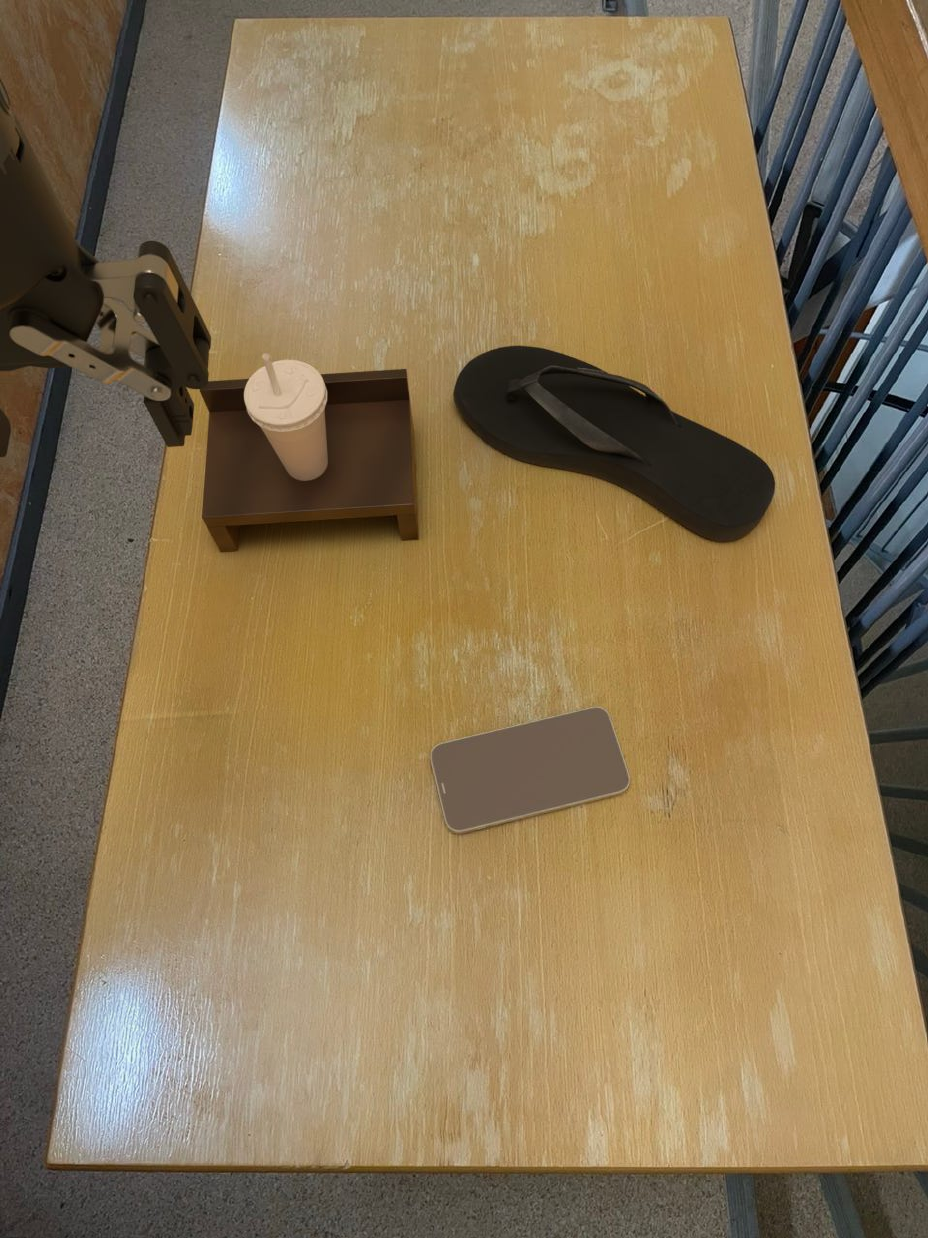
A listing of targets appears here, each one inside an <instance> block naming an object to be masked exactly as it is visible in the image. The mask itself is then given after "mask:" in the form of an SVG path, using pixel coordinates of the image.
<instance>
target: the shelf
mask: <svg viewBox="0 0 928 1238" xmlns="http://www.w3.org/2000/svg"><path fill="white" fill-rule="evenodd" d="M407 369H408V368H396V369H381V370H379V369H378V370H366V371H363V370H362V371H348V372H335V373H333V372H332V373H320V375H321V376H322V378H323V381H324V383H325V386H326V389H327V402H326V405H325V425H326V440H327V455H328V465H327V468H326V470H325V471H324V473H323V474H322V475H320V476H319V477H317V478H315V479H313V480H308V481H301V480H297V479H295V478H293V477H292V476H290V475H289V473H288V472H287V470H286V469H285V467H284V465H283V464H282V462H281V460H280V459H279V457H278V455H277V454H276V452H275V450H274V449H273V447H272V445H271V444H270V442H269V440H268V438H267V437H266V435H265V433H264V432H263V430H262V429H261V427H260V426H259V425H258V424H257V423H255V422H254V421H253V420H252V418H251V417H250V415H249V414H248V412H247V408H246V404H245V401H244V390H245V386H246V384H247V382H248V380H249V379H250V378H240V379H222V380H221V379H220V380H208V384H207V386H206V387H204V388H202V389H199V392H200V395H201V397H202V400H203V402H204V404H205V406H206V409H207V411H208V422H207V423H208V425H207V438H206V452H205V464H204V465H205V467H204V481H203V494H202V495H203V496H202V509H201V510H202V511H201V519H202V521H203V523H204V525H205V526H206V529H207V530H208V532H209V534H210V536H211V537H212V540H213V541H214V543H215V545H216V547H217V549H218V551H219V552H220V553H226V552H228V553H230V552H238V551H239V535H240V534H239V533H240V532H239V531H240V526H247V525H262V524H263V525H264V524H275V523H277V524H278V523H279V524H280V523H293V522H309V521H322V520H323V521H324V520H325V521H326V520H339V519H341V520H342V519H356V518H357V519H358V518H369V517H370V518H372V517H387V516H396V518H397V523H398V530H399V536H400V540H401V541H413V540H414V541H415V540H419V539H420V536H419V535H420V534H419V514H418V491H417V490H418V489H417V469H416V446H415V429H414V419H413V413H412V403H411V395H410V388H409V378H408V371H407Z"/></svg>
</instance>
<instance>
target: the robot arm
mask: <svg viewBox="0 0 928 1238" xmlns="http://www.w3.org/2000/svg"><path fill="white" fill-rule="evenodd" d="M118 301H119V302H118ZM121 303H122V304H121ZM144 323H146V324H147V326H148V327H149V329H150V330H149V329H147V328H145V327H144V326H142V325H141V324H144ZM95 324H96V325H97V326H98V328H99V331H100V338H99V345H98V347H96V346H94V345H92V344H90V343H89V342H88V341H89V339H90V336H91V333H92V331H93V329H94V328H95ZM211 347H212V336H211V333H210V331H209V329H208V328H207V325H206V323H205V321H204V319H203V317H202V315H201V313H200V311H199V308H198V306H197V304H196V302H195V299H194V298H193V296H192V294H191V291H190V289H189V287H188V286H187V283H186V281H185V279H184V277H183V275H182V273H181V271H180V269H179V267H178V265H177V263H176V260H175V258H174V256H173V254H172V252H171V250H170V248H169V247H167V246H166V245H165V244H164V243H162V242H160V241H157V240H146V241H143V242H142V243H140V245H139V248H138V253H137V258H132V259H123V260H122V259H121V260H114V261H104V262H100V261H99V260H98V259H97V258H96V257H95V256H93V254H91V252H89V251H88V250H86V249H85V248H84V247H83V246H82V245H81V244H80V243H79V242H78V241H77V240H76V238H75V236H74V233H73V231H72V229H71V226H70V223H69V221H68V218H67V216H66V213H65V211H64V208H63V206H62V204H61V202H60V200H59V198H58V196H57V194H56V192H55V190H54V188H53V186H52V184H51V182H50V180H49V178H48V176H47V174H46V172H45V170H44V168H43V166H42V164H41V163H40V161H39V159H38V157H37V155H36V152H35V151H34V149H33V147H32V145H31V143H30V141H29V139H28V137H27V135H26V133H25V131H24V128H23V127H22V125H21V123H20V121H19V119H18V116H17V115H16V114H15V111H14V110H13V107H12V104H11V100H10V97H9V94H8V91H7V89H6V87H5V85H4V82H3V81H2V79H1V78H0V372H12V371H16V370H19V369H23V368H27V367H32V368H33V367H35V368H42V369H43V368H44V369H59V368H60V369H62V368H69V367H70V368H72V369H74V370H76V371H77V372H80V373H81V374H83V375H85V376H88V377H89V378H91V379H93V380H95V381H97V382H99V383H100V384H103V385H110V384H111V383H112V382H117V383H119V384H121V385H123V386H125V387H127V388H128V389H131V390H132V391H134V392H136V393H138V394H139V395H142V396H143V404H144V406H145V408H146V410H147V412H148V414H149V416H150V417H151V419H152V421H153V423H154V425H155V426H156V429H157V431H158V432H159V433H160V436H161V438H162V439H163V441H164V444H165V445H166V447H167V448H174V447H176V448H177V447H184V446H185V442H186V436H192V433H193V428H194V427H193V425H194V412H195V403H194V401H193V399H192V397H191V394H190V392H189V390H188V389H191V390H200V389H202V388H204V387H206V386H207V384H208V381H209V377H210V376H209V375H210V372H209V359H210V350H211ZM131 352H132V353H133V354H135V355H137V356H139V357H141V358H142V359H144V361H143V364H142V363H141V362H139V361H137V360H136V359H134V358H133V357H132V356H131ZM11 431H12V426H11V421H10V419H9V418H8V416H7V415H6V413H5V412H4V411H3V410H2V408H1V407H0V458H6V456H7V455H8V451H9V444H10V439H11V433H12V432H11Z"/></svg>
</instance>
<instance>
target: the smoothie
mask: <svg viewBox="0 0 928 1238" xmlns="http://www.w3.org/2000/svg"><path fill="white" fill-rule="evenodd" d="M261 358H262V361H263V364H264V365H263V366H262V367H260V368H258V369H257V370H256V371H255V372H253V374H252V375H251V376H250V377H249V378H248V379H249V380H248V382H247V384H246V386H245V390H244V401H245V404H246V408H247V412H248V414H249V415H250V417H251V418H252V420H253V421H254V422H255V423H257V424H258V425H259V426H260V427H261V429H262V430H263V432H264V433H265V435H266V437H267V438H268V440H269V442H270V444H271V445H272V447H273V449H274V450H275V452H276V454H277V455H278V457H279V459H280V460H281V462H282V464H283V465H284V467H285V469H286V470H287V472H288V473H289V475H290V476H292V477H293V478H295V479H297V480H301V481H308V480H313V479H315V478H317V477H319V476H320V475H322V474H323V473H324V471H325V470H326V468H327V465H328V455H327V440H326V425H325V405H326V402H327V389H326V386H325V383H324V381H323V378H322V376H321V375H320V374H321V373H320V371H318V369H316V368H315V367H313V366H312V365H310V364H308V363H306V362H304V361H301V360H297V359H281V360H280V359H279V360H275V361H272V358H271V355H270V354H269V353H263V354H262V355H261Z"/></svg>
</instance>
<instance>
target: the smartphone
mask: <svg viewBox="0 0 928 1238" xmlns="http://www.w3.org/2000/svg"><path fill="white" fill-rule="evenodd" d="M429 757H430V760H429V761H430V764H431V768H432V769H431V770H432V774H433V778H434V782H435V786H436V790H437V794H438V798H439V803H440V807H441V811H442V815H443V820H444V823H445V826H446V828H447V829H448V830H449V831H450V832H451V833H453V834H457V835H458V834H459V835H461V834H466V833H471V832H474V831H478V830H483V829H486V828H490V827H495V826H499V825H503V824H507V823H511V822H515V821H518V820H522V819H523V820H524V819H527V818H531V817H535V816H539V815H543V814H548V813H550V812H555V811H559V810H563V809H566V808H571V807H574V806H575V807H576V806H579V805H583V804H587V803H591V802H595V801H598V800H605V799H607V798H611V797H617V796H619V795H621V794H624V793H625V792H626V791H627V789H628V788H629V786H630V783H631V776H630V773H629V770H628V765H627V763H626V760H625V757H624V754H623V751H622V748H621V744H620V742H619V739H618V736H617V733H616V730H615V727H614V723H613V720H612V717H611V715H610V713H609V712H608V710H607V709H605V707H604V708H603V707H602V706H590V707H586V708H581V709H577V710H573V711H568V712H565V713H564V712H563V713H561V714H555V715H552V716H548V717H543V718H540V719H535V720H531V721H526V722H523V723H519V724H518V723H517V724H515V725H510V726H506V727H502V728H498V729H494V730H489V731H485V732H481V733H476V734H472V735H468V736H464V737H459V738H455V739H451V740H447V741H442V742H439V743H437V744H436V745H434V746H433V747H432V748H431V751H430V754H429Z"/></svg>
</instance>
